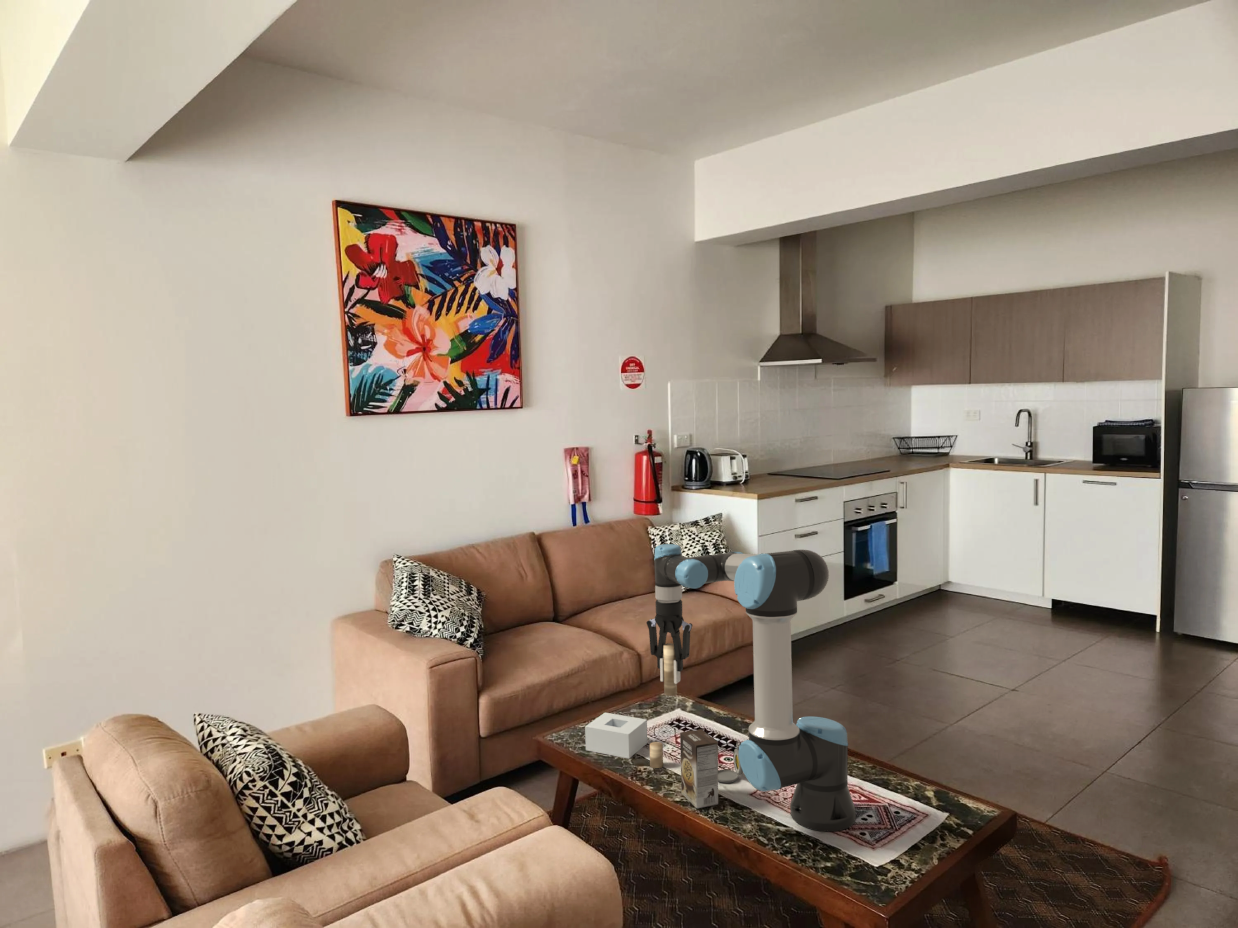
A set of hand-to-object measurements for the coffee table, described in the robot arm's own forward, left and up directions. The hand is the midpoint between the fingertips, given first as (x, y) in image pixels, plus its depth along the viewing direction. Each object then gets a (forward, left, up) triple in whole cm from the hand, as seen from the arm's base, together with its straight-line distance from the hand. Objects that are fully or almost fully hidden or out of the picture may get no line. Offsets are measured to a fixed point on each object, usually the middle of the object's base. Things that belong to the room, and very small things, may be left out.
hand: (670, 680), depth 239 cm
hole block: (-3, +16, -21) cm, 26 cm away
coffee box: (-23, -18, -21) cm, 36 cm away
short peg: (-10, 0, -21) cm, 23 cm away
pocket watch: (-9, -21, -21) cm, 31 cm away
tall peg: (0, 0, -4) cm, 4 cm away
